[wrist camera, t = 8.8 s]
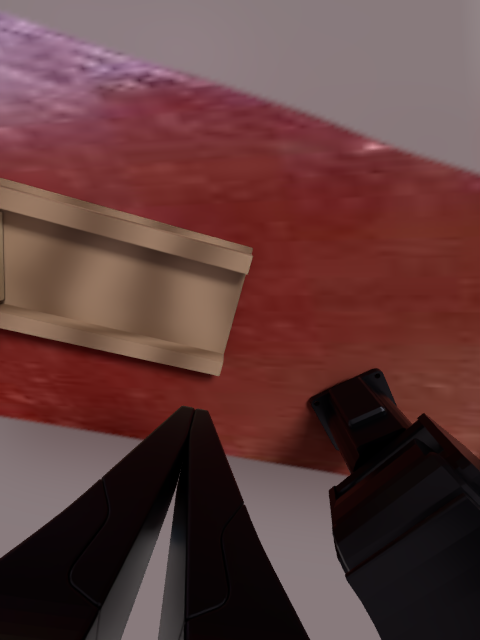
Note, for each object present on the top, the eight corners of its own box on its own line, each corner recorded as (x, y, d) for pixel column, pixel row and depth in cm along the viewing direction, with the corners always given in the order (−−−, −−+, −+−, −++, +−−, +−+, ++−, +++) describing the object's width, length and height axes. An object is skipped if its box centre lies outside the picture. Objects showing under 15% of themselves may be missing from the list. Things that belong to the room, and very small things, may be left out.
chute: (252, 248, 19) (254, 250, 17) (219, 367, 22) (218, 380, 20) (-141, 138, 16) (-192, 126, 14) (-114, 293, 19) (-152, 300, 17)
